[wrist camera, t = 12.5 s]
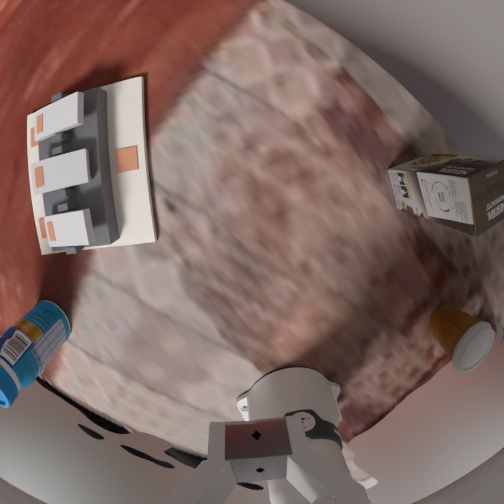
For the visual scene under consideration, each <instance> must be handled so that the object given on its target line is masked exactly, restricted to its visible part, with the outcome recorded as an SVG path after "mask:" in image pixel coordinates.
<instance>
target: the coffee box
mask: <svg viewBox="0 0 504 504" xmlns="http://www.w3.org/2000/svg"><path fill="white" fill-rule="evenodd" d="M388 174H389V177H390V181H391V185H392V189H393V192H394V197H395V201H396V205H397V208H398V209H400V210H403V211H406V212H409V213H412V214H415V215H418V216H421V217H424V218H427V219H430V220H432V221H435V222H438V223H441V224H443V225H446V226H449V227H451V228H454V229H457V230H459V231H462V232H464V233H467V234H469V235H472V236H474V237H477V236H479V235H480V234H482V233H483V232H485V231H486V230H488V229H489V228H491V227H492V226H493V225H495V224H496V223H498V222H499V221H500V220H502V219H503V218H504V158H499V157H487V156H472V155H440V154H429V155H426V156H423V157H420V158H417V159H414V160H412V161H409V162H406V163H403V164H401V165H398V166H395V167H392V168H389V169H388Z"/></svg>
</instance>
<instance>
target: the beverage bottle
mask: <svg viewBox="0 0 504 504" xmlns="http://www.w3.org/2000/svg"><path fill="white" fill-rule="evenodd" d="M69 335H70V323H69V320H68V318H67V316H66V314H65V313H64V311H63V310H62V309H61V308H60V307H59V306H58V305H56V304H55V303H53V302H51V301H48V300H43V301H40V302H39V303H37V304H36V305H35V306H34V308H33V309H32V310H30V311H29V312H28V313H27V314H26V315H25V316H24V317H22V318H21V319H20V320H19V321H18V322H17V323H16V324H15V325H13V326H12V327H9V328H8V329H7V330H6V331H5V332H4V334H3V337H1V338H0V406H2V407H4V408H9V407H10V406H11V405H12V404H13V402H14V401H15V399H16V398H17V396H18V394H19V389H23V388H26V387H29V386H30V385H32V384H33V383H34V381H35V379H36V377H37V376H39V375H40V374H41V373H42V372H43V371H44V369H45V366H46V364H47V363H48V362H49V360H50V359H51V358H52V356H53V355H54V354H55V352H56V351H57V350H58V349H59V347H60V346H61V345H62V344H63V343H64V342H65V341H66V340H67V339H68V337H69Z"/></svg>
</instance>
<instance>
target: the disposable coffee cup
mask: <svg viewBox="0 0 504 504" xmlns="http://www.w3.org/2000/svg"><path fill="white" fill-rule="evenodd" d="M429 329H430V331H431V332H432V333H433V335H434V336H435V337H436V339H437V340H438V342H439V343H440V345H441V346H442V347H443V349H444V350H445V352H446V353H447V355H448V356H449V358H450V359H451V361H452V363H453V367H454V369H456V370H457V371H461V372H463V373H465V372H469V371H471V370H472V369H474V368H475V367H476V366H478V365H479V363H480V362H481V361H482V360H483V359H484V358H485V356H486V355H487V353H488V352H489V350H490V348H491V346H492V343H493V340H494V331H493V330H492V328H491V325H490V324H489V323H488V322H481V321H480V320H478V319H476V318H474V317H472V316H471V315H469V314H467V313H465V312H463V311H461V310H459V309H457V308H456V307H454V306H452V305H450V304H443V305H441V306H439V307H438V308H437V309H436V310H435V312H434V313H433V314H432V316H431V318H430V321H429Z"/></svg>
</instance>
